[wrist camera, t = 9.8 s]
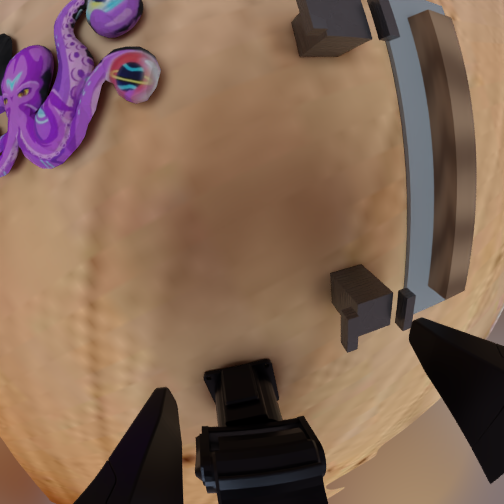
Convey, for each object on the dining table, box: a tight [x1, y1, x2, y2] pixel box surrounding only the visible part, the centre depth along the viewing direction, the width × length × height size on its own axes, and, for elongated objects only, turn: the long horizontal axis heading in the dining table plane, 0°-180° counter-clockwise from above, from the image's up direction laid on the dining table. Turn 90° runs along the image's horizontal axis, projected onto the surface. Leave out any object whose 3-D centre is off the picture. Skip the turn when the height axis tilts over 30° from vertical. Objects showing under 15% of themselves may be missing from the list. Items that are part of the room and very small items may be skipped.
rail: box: [407, 10, 476, 300], centre depth 19 cm, size 26×3×3 cm, turn 10°
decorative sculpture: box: [0, 0, 161, 177], centre depth 12 cm, size 23×4×15 cm
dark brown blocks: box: [330, 264, 416, 353], centre depth 21 cm, size 3×6×6 cm, turn 100°
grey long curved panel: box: [386, 0, 445, 314], centre depth 20 cm, size 32×9×1 cm, turn 10°
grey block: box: [291, 0, 400, 57], centre depth 13 cm, size 3×6×6 cm, turn 100°
